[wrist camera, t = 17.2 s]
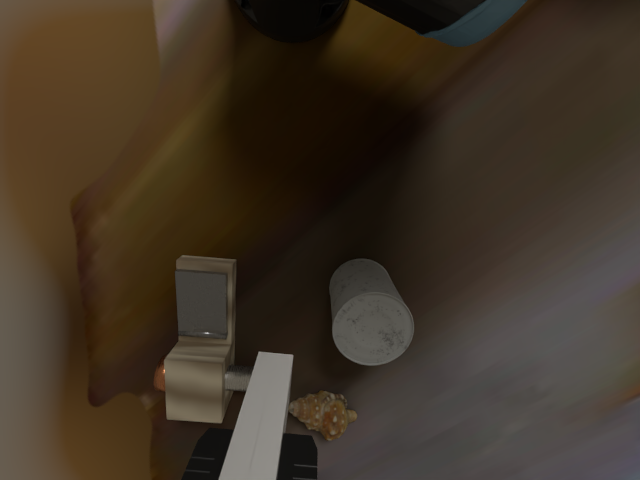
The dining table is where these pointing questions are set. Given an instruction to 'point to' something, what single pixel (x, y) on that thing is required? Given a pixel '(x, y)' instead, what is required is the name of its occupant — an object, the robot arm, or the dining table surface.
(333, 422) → the seashell
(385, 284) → the grey stone cylinder
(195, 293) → the latch flap
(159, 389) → the pin
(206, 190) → the dining table surface
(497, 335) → the dining table surface
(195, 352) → the block
